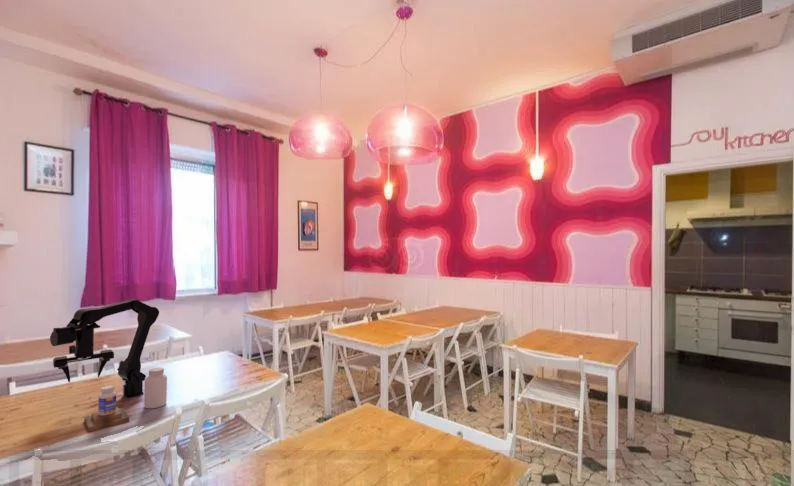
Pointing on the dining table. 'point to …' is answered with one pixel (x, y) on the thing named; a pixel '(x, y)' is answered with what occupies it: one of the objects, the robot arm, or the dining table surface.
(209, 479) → the dining table surface
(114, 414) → the walnut stand
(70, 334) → the robot arm
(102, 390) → the pill bottle
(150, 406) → the pill bottle
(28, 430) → the dining table surface
